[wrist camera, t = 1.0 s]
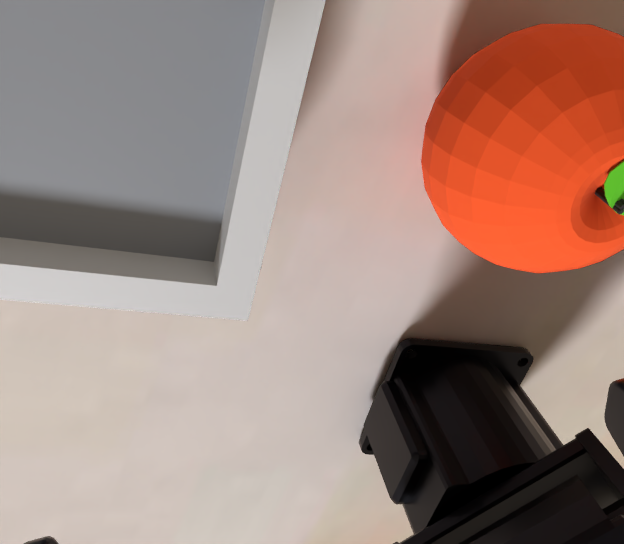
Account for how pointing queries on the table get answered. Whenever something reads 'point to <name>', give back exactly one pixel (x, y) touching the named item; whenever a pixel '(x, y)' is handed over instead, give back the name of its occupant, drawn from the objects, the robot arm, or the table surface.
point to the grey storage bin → (146, 148)
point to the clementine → (533, 149)
